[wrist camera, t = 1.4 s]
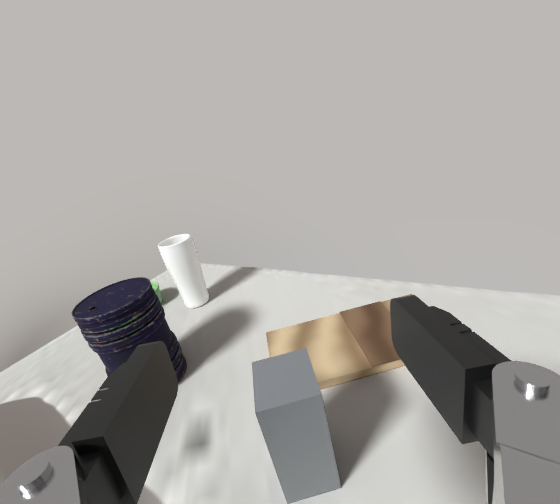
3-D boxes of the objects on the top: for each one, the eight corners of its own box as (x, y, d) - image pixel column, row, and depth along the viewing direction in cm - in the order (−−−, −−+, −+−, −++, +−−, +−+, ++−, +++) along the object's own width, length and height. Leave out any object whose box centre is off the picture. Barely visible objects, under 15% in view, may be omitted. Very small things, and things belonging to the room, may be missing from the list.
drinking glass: (208, 290, 66) (187, 231, 60) (217, 301, 60) (194, 237, 54) (180, 302, 63) (155, 242, 57) (186, 315, 57) (159, 249, 51)
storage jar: (159, 348, 49) (123, 275, 43) (200, 359, 44) (166, 278, 39) (107, 396, 41) (55, 314, 35) (150, 415, 36) (98, 324, 31)
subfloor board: (411, 300, 47) (411, 293, 46) (465, 348, 36) (466, 340, 35) (267, 338, 45) (265, 331, 45) (277, 401, 34) (275, 393, 34)
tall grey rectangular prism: (324, 432, 30) (305, 346, 25) (341, 487, 25) (321, 393, 20) (279, 445, 30) (251, 360, 25) (287, 504, 25) (255, 412, 20)
